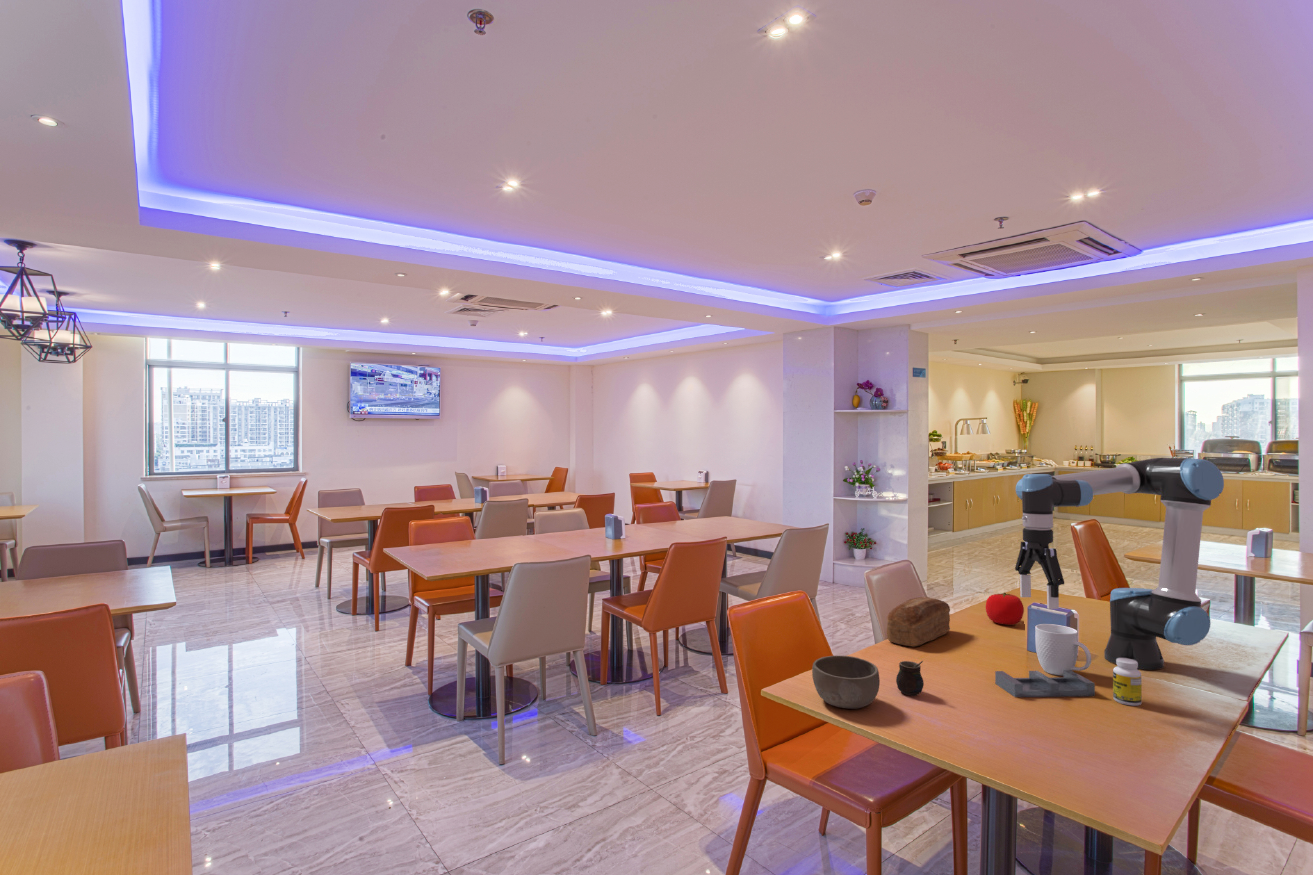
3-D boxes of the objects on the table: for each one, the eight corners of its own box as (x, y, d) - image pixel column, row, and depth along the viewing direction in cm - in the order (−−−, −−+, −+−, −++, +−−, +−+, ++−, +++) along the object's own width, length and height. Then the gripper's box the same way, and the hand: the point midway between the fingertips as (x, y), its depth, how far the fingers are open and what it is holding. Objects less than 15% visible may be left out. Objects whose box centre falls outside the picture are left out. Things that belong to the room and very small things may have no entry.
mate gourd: (902, 685, 187) (903, 650, 187) (929, 693, 182) (929, 657, 182) (891, 692, 182) (891, 656, 182) (918, 700, 177) (918, 663, 177)
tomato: (993, 627, 245) (992, 596, 245) (981, 617, 259) (981, 588, 259) (1030, 629, 243) (1029, 597, 243) (1016, 619, 257) (1015, 589, 257)
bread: (955, 632, 239) (955, 595, 239) (915, 651, 218) (915, 610, 219) (923, 626, 248) (922, 590, 248) (881, 643, 227) (881, 604, 228)
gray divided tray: (1071, 682, 189) (1070, 670, 189) (1094, 696, 179) (1094, 683, 179) (995, 683, 188) (995, 671, 188) (1014, 697, 178) (1014, 683, 178)
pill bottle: (1107, 697, 178) (1107, 657, 178) (1128, 697, 178) (1128, 656, 178) (1125, 707, 171) (1125, 664, 172) (1147, 706, 172) (1147, 663, 172)
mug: (1099, 677, 193) (1099, 633, 193) (1081, 685, 187) (1081, 639, 187) (1046, 663, 205) (1046, 621, 205) (1028, 670, 199) (1027, 627, 199)
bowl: (845, 721, 164) (844, 681, 164) (798, 697, 180) (798, 660, 180) (894, 708, 172) (894, 669, 172) (845, 685, 188) (845, 650, 188)
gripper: (1001, 522, 199) (1003, 592, 199) (1050, 534, 175) (1051, 614, 174) (1026, 522, 199) (1027, 592, 199) (1078, 534, 174) (1079, 613, 174)
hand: (1038, 602), depth 187 cm, fingers open, 13 cm apart
